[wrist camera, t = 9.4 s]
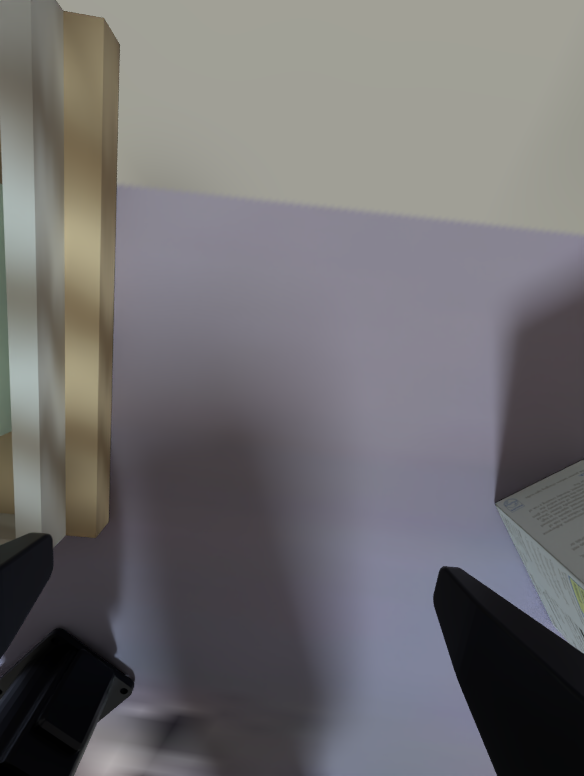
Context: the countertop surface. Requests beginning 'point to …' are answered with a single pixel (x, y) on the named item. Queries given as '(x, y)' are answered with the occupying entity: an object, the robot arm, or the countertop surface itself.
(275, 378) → the countertop surface
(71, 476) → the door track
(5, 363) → the door panel
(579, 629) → the light bulb box
